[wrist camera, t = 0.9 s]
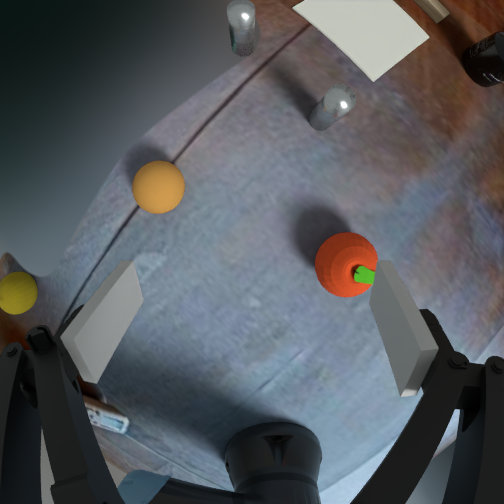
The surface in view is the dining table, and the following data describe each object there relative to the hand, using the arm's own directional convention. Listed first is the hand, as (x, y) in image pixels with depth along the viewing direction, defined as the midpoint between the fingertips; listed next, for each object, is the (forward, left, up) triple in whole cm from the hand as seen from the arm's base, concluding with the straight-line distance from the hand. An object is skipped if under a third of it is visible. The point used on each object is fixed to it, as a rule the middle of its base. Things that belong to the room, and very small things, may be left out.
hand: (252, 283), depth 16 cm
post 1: (+15, +17, -19) cm, 29 cm away
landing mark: (+31, +11, -19) cm, 38 cm away
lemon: (-27, +17, -19) cm, 37 cm away
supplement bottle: (+43, -4, -19) cm, 47 cm away
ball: (-3, +11, -16) cm, 20 cm away
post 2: (+15, +4, -19) cm, 24 cm away
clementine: (+6, -9, -19) cm, 22 cm away
